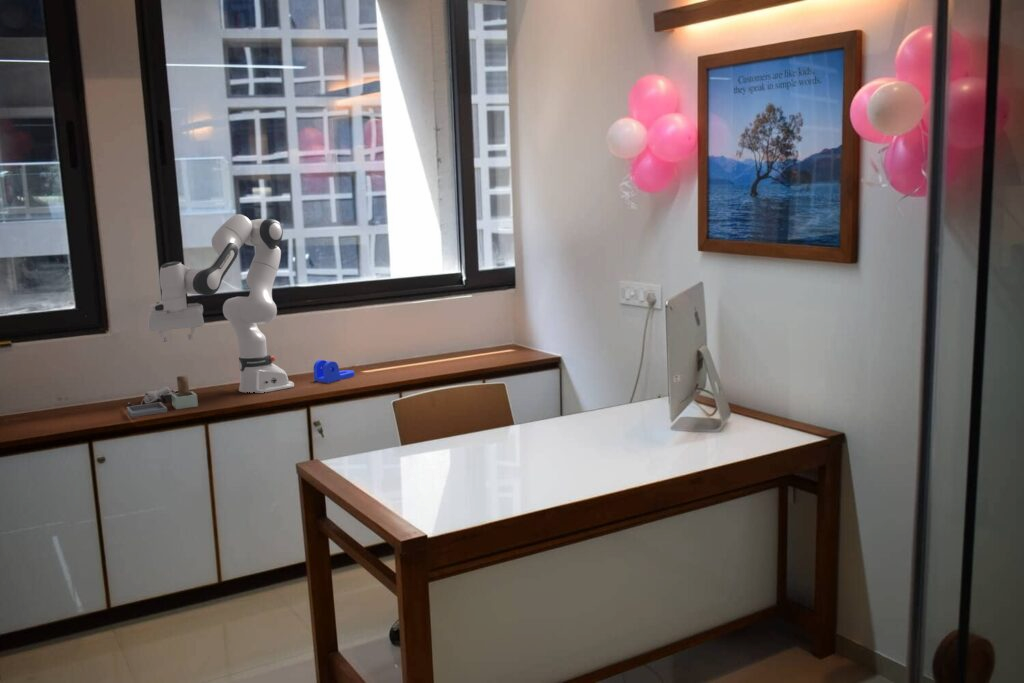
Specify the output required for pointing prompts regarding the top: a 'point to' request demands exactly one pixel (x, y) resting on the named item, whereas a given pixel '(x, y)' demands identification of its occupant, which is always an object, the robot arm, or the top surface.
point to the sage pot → (184, 400)
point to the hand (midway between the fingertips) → (177, 340)
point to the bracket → (329, 372)
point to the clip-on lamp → (158, 395)
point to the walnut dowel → (183, 386)
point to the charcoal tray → (146, 409)
